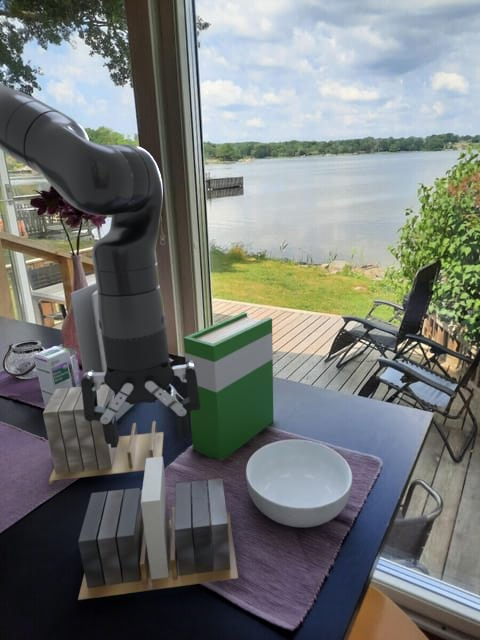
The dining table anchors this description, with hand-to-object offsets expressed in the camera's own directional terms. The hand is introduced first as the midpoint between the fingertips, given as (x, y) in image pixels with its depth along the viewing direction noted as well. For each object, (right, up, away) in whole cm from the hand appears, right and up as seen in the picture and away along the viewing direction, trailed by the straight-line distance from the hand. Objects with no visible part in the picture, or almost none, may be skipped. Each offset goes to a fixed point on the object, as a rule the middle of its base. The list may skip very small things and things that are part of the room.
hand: (148, 440), depth 58 cm
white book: (+1, -18, +6) cm, 19 cm away
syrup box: (-31, -5, +49) cm, 58 cm away
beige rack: (-12, -11, +29) cm, 33 cm away
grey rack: (+1, -19, +6) cm, 20 cm away
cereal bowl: (+22, -15, +15) cm, 30 cm away
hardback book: (+11, -9, +35) cm, 38 cm away
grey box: (-17, -5, +47) cm, 51 cm away
